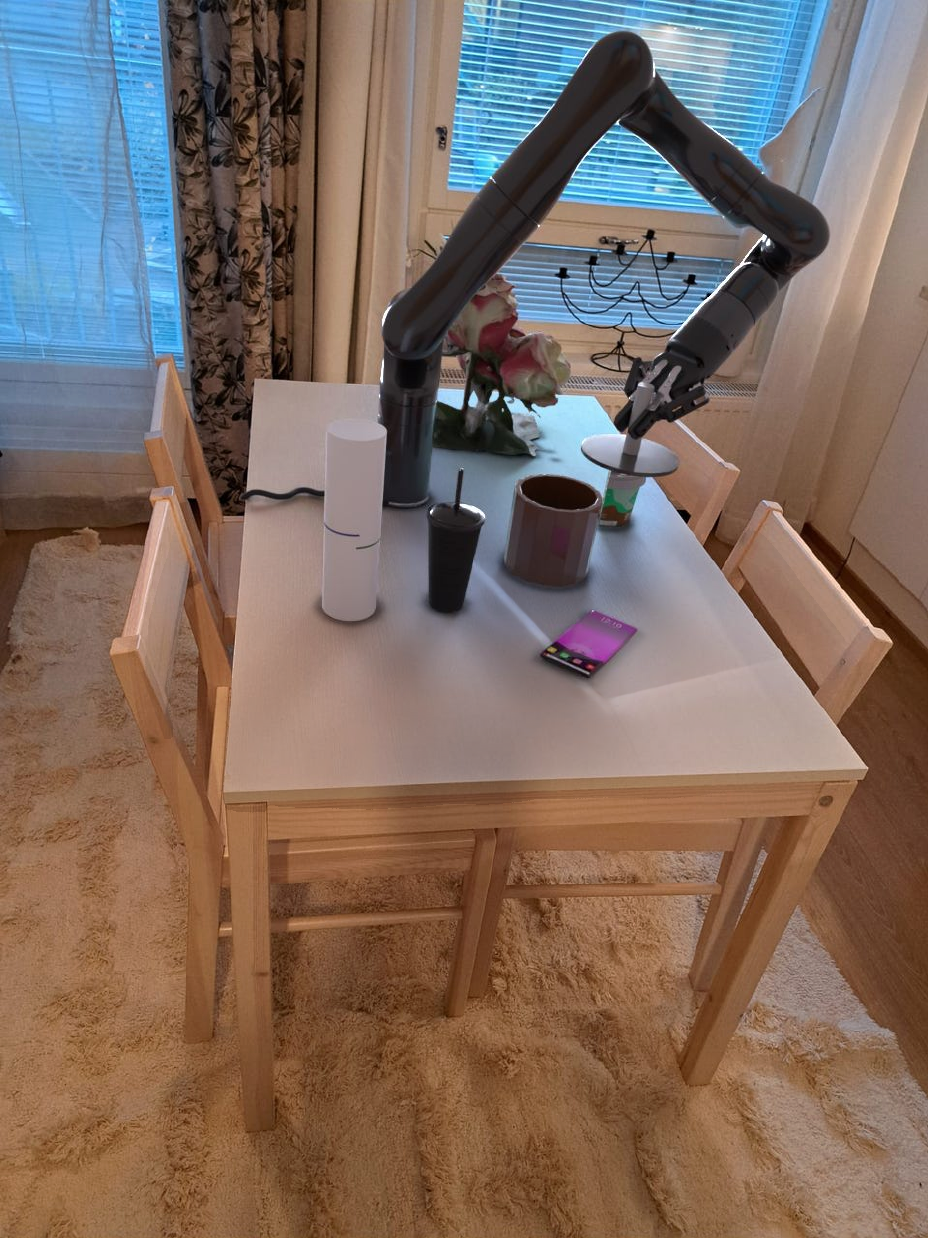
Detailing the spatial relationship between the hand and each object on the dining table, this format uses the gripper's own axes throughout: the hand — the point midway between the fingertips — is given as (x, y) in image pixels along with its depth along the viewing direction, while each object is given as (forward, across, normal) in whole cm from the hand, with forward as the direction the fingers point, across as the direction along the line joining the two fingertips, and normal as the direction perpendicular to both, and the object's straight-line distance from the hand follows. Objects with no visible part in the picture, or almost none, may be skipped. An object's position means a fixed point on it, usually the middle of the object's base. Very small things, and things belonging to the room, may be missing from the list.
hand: (624, 431), depth 118 cm
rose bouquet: (+3, -56, +31) cm, 64 cm away
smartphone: (+25, +13, +8) cm, 29 cm away
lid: (+1, 0, +4) cm, 4 cm away
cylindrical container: (+42, -8, -8) cm, 44 cm away
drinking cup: (+33, -4, 0) cm, 34 cm away
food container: (+4, -14, +30) cm, 33 cm away
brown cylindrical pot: (+19, -6, +14) cm, 25 cm away
